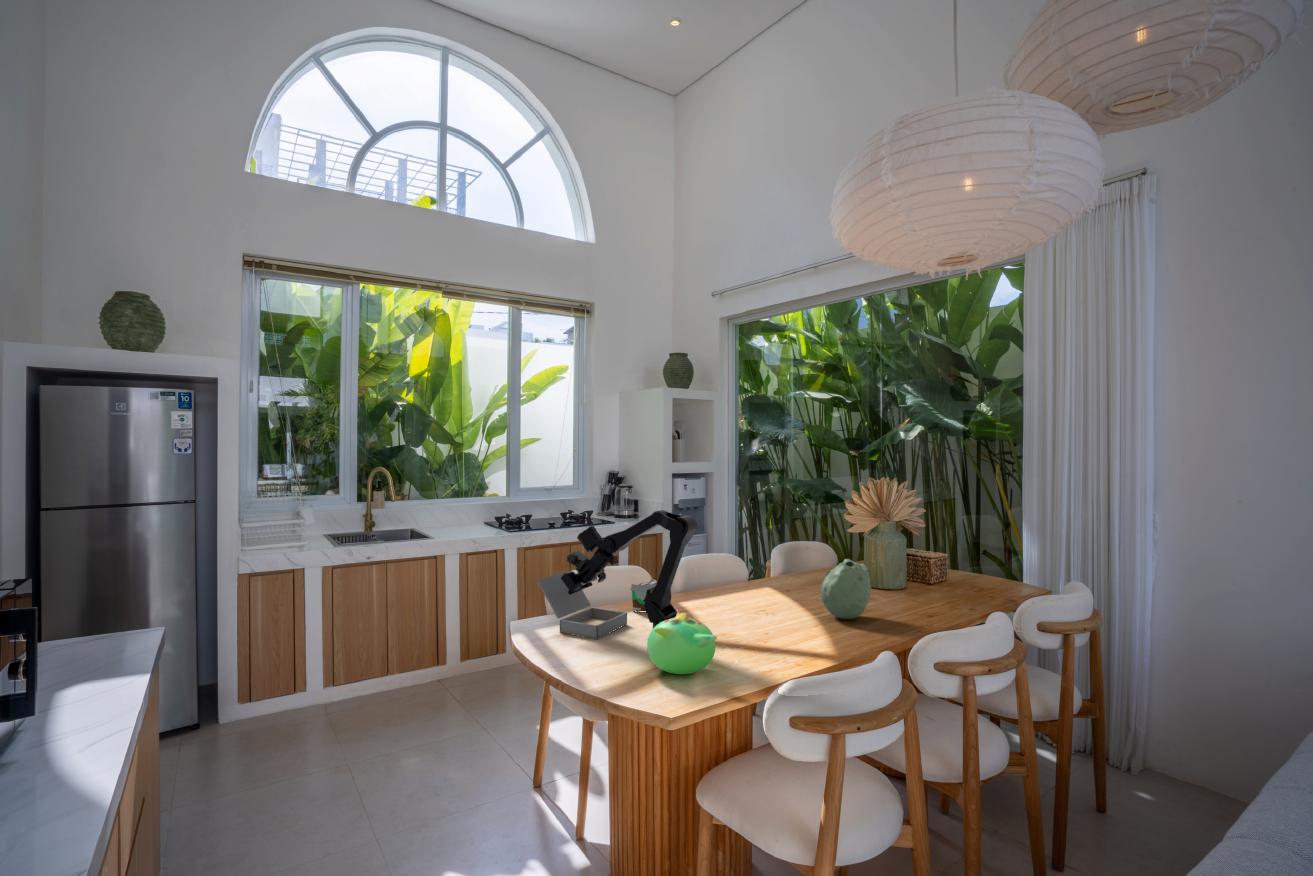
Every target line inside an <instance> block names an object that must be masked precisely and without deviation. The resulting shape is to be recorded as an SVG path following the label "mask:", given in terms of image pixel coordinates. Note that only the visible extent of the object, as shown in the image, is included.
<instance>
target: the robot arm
mask: <svg viewBox="0 0 1313 876" xmlns="http://www.w3.org/2000/svg"><path fill="white" fill-rule="evenodd" d="M659 526H660V527H662V528H663V529H665V530H667V531H669V534H668V535H669V546H668V549H667V552H666V554H665V557H664V560H663V564H662V566H661V569H660V572H659V575H658V578H657V580H656V581H657V584H656V586H655V587H652V588H650V589H647V592H646V597H645V599H644V600H643V602H645V603H644V609H645V611H646V614H647V619H648V621H649V623H651V624H652V629H653V628H654V627H655V626H656V625H658V624H659V623H661V622H662V621H665V620H668V619H671V618H675V617H676V616H678V615H677V614H678V611H677V610H676V608H675V606H673V604H672V602H671V601H672V586H673V582H674V580H675V577H676V574H677V571H678V568H679V565H680V562H681V560H682V557H683V553H684V550H685V548H686V546H687V545H688V544H689V542H690V541H691V540H692V539H693V537H694V534H695V533H696V531H697V528H698V523H697V521H696V519H695V517H693V516H691V515H681V514H678V513H673V512H670V511H667V510H664V509H660V510H655V511H653V513H651V514H650V515H648V516H646V517H645V518H643V519H641V520H639V521H638V522H636V523H635V524H633V525H631V526H629V527H628V528H626V529H624V530H621V531H617V532H615V533H612V534H608V535H606V536H604V537H602V536H601V534H600V533H599V532H598V531H597V529H596V527H595V526H594V525H590V526H588V528H586V529H584V530H582V532H580V533H579V534H578V535H577V537H576V539H577V540H578V541H579V543H580V544H581V546H582V547H583V548H584V549H585V551H586V552H587V553H590V552H591V553H593V554H592V555H591V556H590V557H588V556H587V555H585V554H584V553H583V552H581V551H578V550H575V551H571V552H570V553H569V554H568V555H567V556H566V558H567V559H566V562H568V563H569V564H571V565H572V566H574V567H576V568H575V570H576V572H577V573H575V571H572V570H571V571H570V570H569V571H570V572H567V571H565V572H566V573H564V574H563V575H562V576H561V580H562V581H563V582H564V584H565V585H566V586H567V588H568V589H569V591H568V593H569V595H571V594H573V593H576V592H578V591H580V590H583V591H584V590H585V589H588V588H590V587H592V586H593V583H592V582H595V581H597V583H598V584H599V583H603V582H604V581H605V580H606V579H607V575H606V574H607V573H606V572H605V571H606V570H605V568H607V566H608V565H609V564H610V565H611V566H614V565H618V564H619V559H618V557H619V556H618V555H615V553H618V552H623V551H624V550H626V549H627V548H628V547H630V546H631V545H632V543H633V542H634V541H635V540H636V539H638V538H639V537H641V536H643V535H645V534H646V533H648V532H650V531H651V530H653V529H655V528H656V527H659Z"/></svg>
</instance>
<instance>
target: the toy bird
mask: <svg viewBox="0 0 1313 876" xmlns="http://www.w3.org/2000/svg"><path fill="white" fill-rule="evenodd" d="M716 640H717V635H714V634H713V632H712V630H711V629H710V628H709V626H707V625H706V624H704V623H703V622H701V621H700V620H696V619H694V618H690V617H687V613H686V612H681V613H680V614H678V615H676V617H675V618H671V619H668V620H665V621H662V622H661V623H659V624H658V625H656V626H655V627H654V628H653V627H652V629H651V631H650V632H649V635H648V637H647V643H646V650H647V653H648V657H649V659H650V660H651V662H652V663H653V665H655V666H656V667H657V668H659V669H660V670H662V671H664V672H665V673H666V672H667V673H668V674H669V673H670V674H674V675H688V674H689V675H690V674H694V673H697V672H699V671H702V670H703V669H705V668H706V667H707V666H708V665H710V663H711V662H712V660H713V659H714V656H715V652H716V649H717V648H716V645H717V644H716Z"/></svg>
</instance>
